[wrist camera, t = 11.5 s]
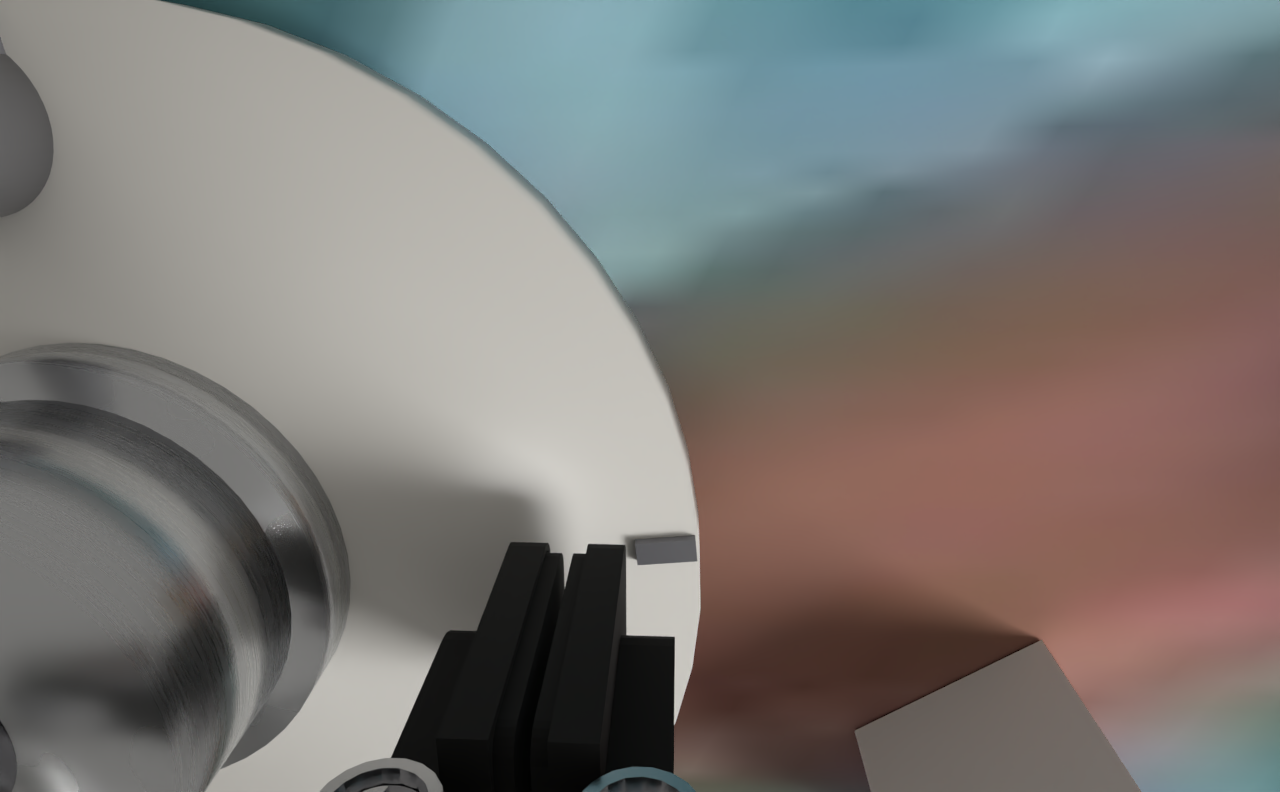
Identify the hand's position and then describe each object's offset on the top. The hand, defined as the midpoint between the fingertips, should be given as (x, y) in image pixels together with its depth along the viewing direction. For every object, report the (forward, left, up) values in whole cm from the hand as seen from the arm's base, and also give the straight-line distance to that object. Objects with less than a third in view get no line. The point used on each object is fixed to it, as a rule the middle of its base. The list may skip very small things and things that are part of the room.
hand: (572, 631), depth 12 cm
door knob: (-5, +4, -1) cm, 7 cm away
